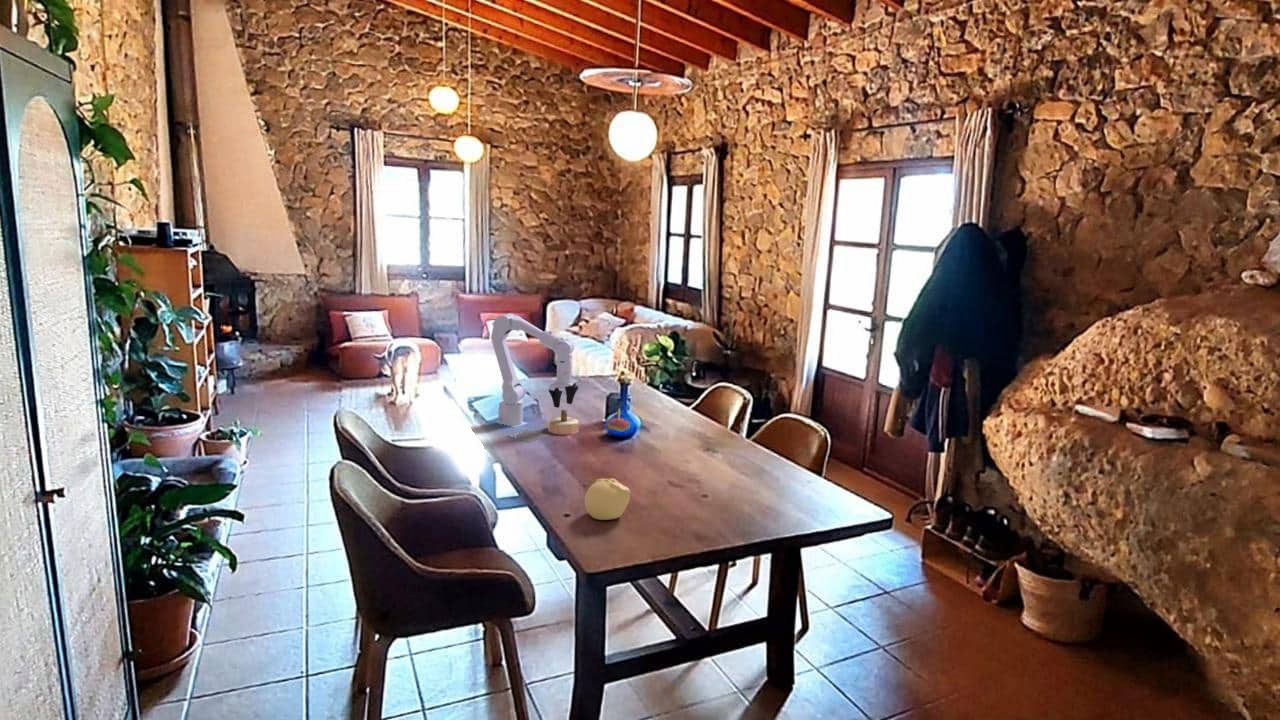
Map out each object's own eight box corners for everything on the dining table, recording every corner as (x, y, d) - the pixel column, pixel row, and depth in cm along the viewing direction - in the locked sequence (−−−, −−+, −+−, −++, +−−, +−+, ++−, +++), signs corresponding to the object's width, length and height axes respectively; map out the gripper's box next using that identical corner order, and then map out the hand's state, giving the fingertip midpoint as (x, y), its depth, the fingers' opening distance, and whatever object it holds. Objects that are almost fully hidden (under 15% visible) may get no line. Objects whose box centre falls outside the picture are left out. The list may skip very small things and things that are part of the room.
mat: (504, 436, 273) (504, 435, 273) (526, 430, 283) (526, 429, 283) (528, 443, 267) (528, 442, 267) (550, 436, 276) (550, 435, 276)
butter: (635, 516, 206) (636, 480, 204) (605, 528, 198) (606, 490, 195) (606, 504, 214) (607, 469, 212) (576, 515, 205) (577, 479, 203)
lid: (544, 422, 281) (544, 411, 281) (560, 416, 291) (560, 405, 290) (567, 427, 276) (567, 416, 275) (583, 421, 286) (583, 410, 285)
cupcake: (629, 440, 277) (630, 409, 274) (606, 438, 277) (607, 408, 274) (629, 433, 285) (631, 403, 283) (608, 432, 285) (609, 402, 283)
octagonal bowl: (541, 430, 283) (541, 422, 282) (561, 424, 292) (561, 416, 292) (565, 437, 276) (565, 428, 275) (585, 430, 286) (585, 421, 285)
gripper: (559, 375, 273) (558, 410, 276) (584, 370, 285) (582, 403, 288) (545, 372, 277) (544, 407, 280) (570, 367, 289) (569, 400, 291)
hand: (563, 405), depth 284 cm, fingers open, 7 cm apart
